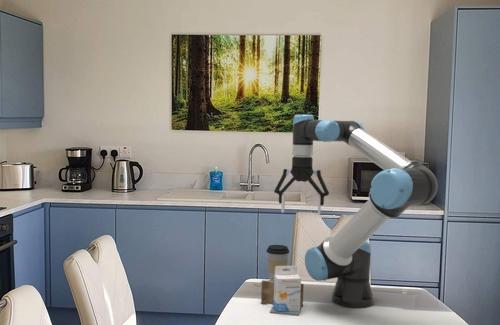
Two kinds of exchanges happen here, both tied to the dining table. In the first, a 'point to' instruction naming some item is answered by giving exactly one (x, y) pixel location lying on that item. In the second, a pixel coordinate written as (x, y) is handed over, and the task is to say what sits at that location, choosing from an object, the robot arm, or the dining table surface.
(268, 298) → the wooden stand
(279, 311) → the mat
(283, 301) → the ink box
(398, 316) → the dining table surface
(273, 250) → the coffee cup
